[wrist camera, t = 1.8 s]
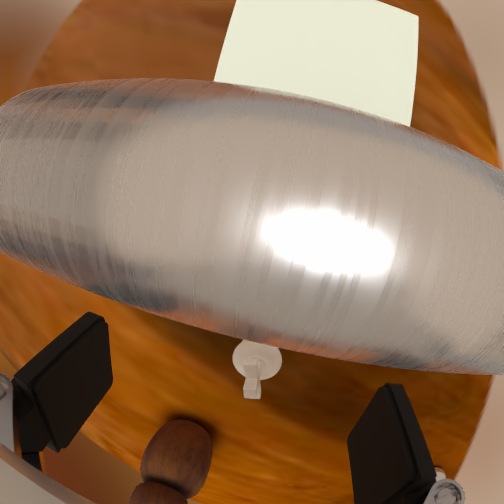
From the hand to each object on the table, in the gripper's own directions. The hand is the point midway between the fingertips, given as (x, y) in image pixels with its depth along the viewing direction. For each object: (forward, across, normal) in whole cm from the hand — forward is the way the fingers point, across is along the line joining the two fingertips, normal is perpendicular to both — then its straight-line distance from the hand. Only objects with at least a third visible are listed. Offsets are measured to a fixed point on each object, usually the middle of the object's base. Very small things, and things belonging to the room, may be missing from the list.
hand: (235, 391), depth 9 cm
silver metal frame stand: (+11, -1, -6) cm, 12 cm away
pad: (+11, -1, -15) cm, 19 cm away
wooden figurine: (+10, +3, +18) cm, 21 cm away
